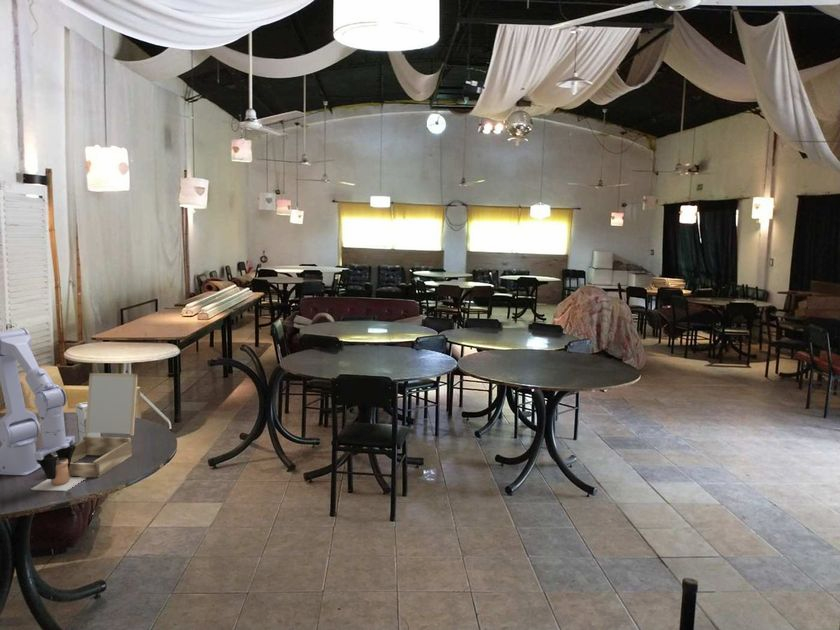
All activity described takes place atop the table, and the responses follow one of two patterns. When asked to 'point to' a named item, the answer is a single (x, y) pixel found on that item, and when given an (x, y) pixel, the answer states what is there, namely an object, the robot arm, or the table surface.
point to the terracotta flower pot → (61, 472)
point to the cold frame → (109, 447)
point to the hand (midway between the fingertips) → (58, 474)
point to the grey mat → (61, 487)
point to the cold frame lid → (111, 403)
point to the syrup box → (83, 421)
